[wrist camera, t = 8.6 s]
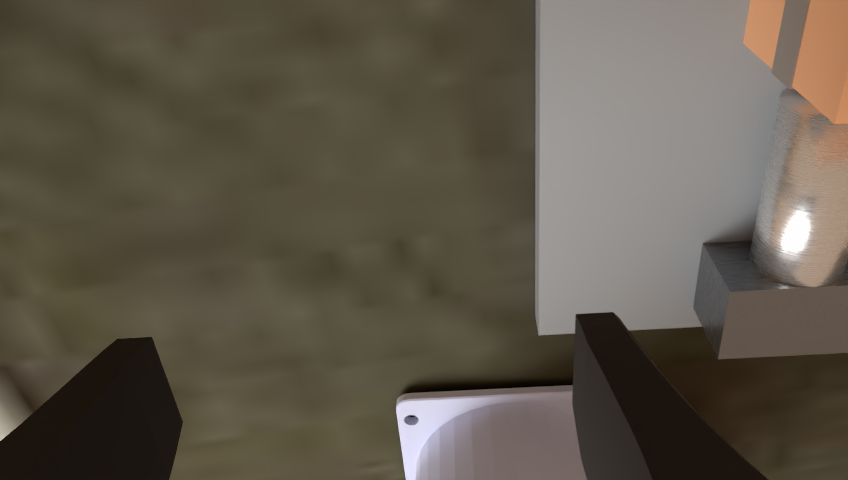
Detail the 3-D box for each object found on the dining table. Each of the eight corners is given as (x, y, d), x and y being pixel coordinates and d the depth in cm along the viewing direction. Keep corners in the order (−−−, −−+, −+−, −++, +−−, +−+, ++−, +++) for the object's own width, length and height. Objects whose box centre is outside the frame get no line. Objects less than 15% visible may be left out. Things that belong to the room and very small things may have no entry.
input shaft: (823, 280, 23) (876, 351, 21) (684, 288, 24) (717, 359, 21) (880, 63, 20) (956, 112, 17) (713, 75, 20) (760, 125, 17)
